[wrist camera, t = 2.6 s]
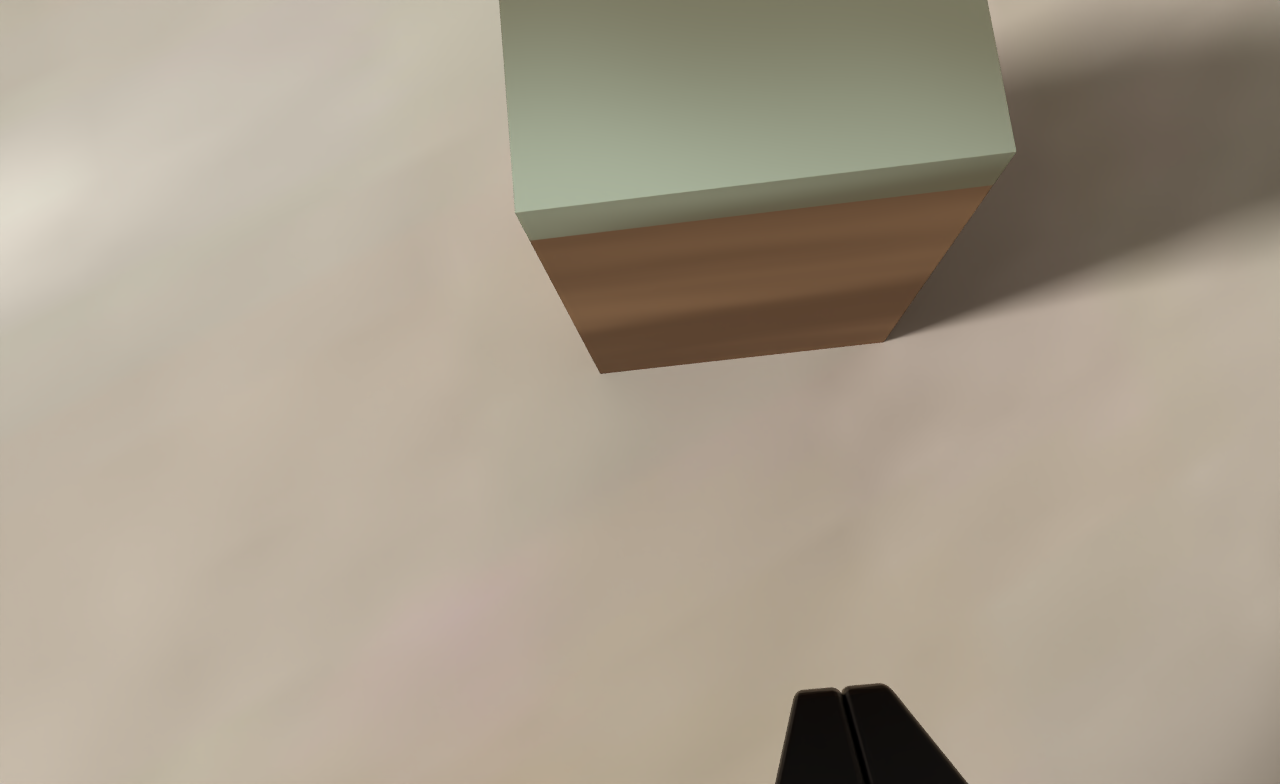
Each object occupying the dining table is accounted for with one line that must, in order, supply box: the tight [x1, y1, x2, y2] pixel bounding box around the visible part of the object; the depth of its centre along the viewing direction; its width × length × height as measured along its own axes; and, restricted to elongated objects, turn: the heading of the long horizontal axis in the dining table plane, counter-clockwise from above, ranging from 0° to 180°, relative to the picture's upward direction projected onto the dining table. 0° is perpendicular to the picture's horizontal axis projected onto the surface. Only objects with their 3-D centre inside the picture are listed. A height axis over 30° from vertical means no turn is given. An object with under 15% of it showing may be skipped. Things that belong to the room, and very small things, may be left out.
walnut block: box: [499, 0, 1016, 374], centre depth 14 cm, size 4×5×8 cm
